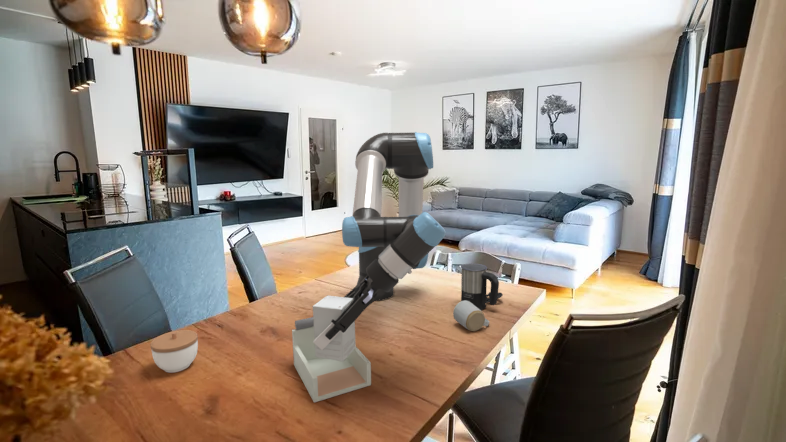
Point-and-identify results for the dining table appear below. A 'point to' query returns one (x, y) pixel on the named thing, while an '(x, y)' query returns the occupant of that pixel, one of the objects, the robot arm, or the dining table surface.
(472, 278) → the milk frother
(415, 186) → the robot arm
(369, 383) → the tray
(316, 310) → the supplement box
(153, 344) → the lidded jar
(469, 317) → the ceramic mug
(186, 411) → the dining table surface
